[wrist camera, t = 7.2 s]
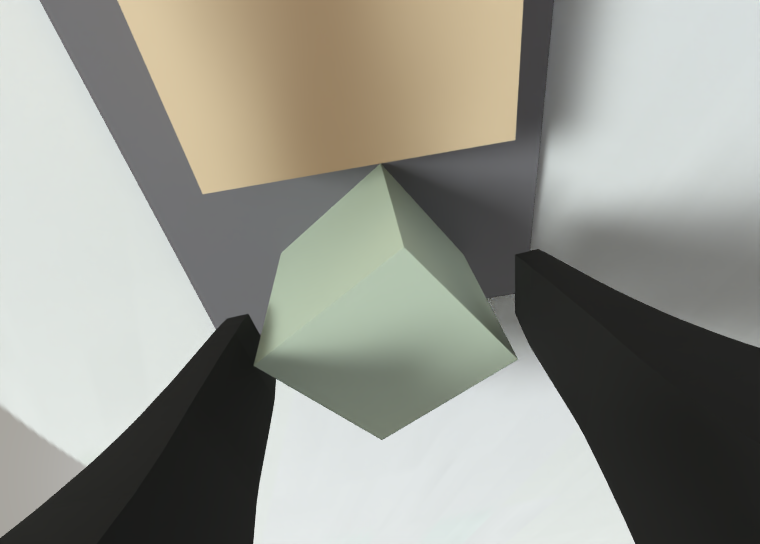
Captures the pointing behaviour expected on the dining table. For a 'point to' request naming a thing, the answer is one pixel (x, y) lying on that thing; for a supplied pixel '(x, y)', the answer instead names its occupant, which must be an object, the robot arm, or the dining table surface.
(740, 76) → the dining table surface
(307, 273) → the sage cube
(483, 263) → the mat
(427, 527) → the dining table surface
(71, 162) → the dining table surface
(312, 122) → the oak slab
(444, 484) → the dining table surface
